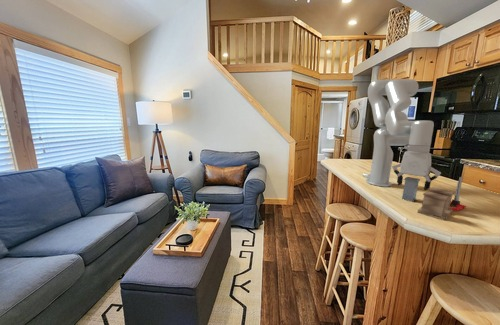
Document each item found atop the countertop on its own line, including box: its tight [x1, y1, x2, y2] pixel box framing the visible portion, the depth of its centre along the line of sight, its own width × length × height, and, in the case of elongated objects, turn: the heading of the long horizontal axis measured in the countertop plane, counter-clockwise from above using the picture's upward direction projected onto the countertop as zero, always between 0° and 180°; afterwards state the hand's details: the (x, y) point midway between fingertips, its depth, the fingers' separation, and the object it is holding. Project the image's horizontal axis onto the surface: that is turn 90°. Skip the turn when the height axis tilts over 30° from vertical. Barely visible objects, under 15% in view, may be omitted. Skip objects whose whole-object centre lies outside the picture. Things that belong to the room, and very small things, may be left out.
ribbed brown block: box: [417, 187, 455, 221], centre depth 83 cm, size 8×14×8 cm, turn 128°
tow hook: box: [449, 176, 467, 212], centre depth 88 cm, size 8×13×9 cm
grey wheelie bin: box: [401, 176, 421, 203], centre depth 96 cm, size 5×5×10 cm
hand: (412, 187), depth 95 cm, fingers open, 9 cm apart
